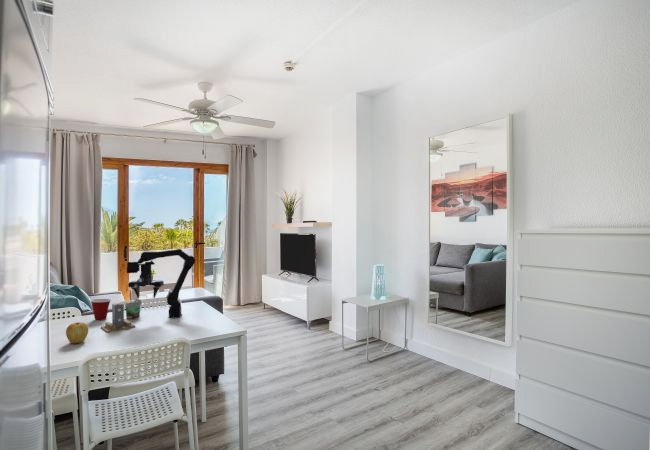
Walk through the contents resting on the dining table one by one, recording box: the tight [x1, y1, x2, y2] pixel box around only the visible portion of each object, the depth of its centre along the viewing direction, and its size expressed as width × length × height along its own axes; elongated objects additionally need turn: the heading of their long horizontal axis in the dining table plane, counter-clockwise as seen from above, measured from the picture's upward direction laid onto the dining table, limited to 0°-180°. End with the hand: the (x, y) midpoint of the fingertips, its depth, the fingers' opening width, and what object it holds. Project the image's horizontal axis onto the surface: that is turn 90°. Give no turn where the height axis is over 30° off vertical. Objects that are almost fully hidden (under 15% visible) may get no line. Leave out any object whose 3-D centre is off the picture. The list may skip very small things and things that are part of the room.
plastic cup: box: [90, 298, 112, 322], centre depth 225 cm, size 11×11×12 cm
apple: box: [65, 321, 89, 344], centre depth 183 cm, size 9×9×10 cm
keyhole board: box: [100, 318, 136, 334], centre depth 207 cm, size 14×12×3 cm
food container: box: [124, 298, 143, 320], centre depth 229 cm, size 12×6×10 cm, turn 179°
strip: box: [111, 302, 125, 328], centre depth 207 cm, size 4×5×13 cm
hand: (146, 298), depth 223 cm, fingers open, 9 cm apart
